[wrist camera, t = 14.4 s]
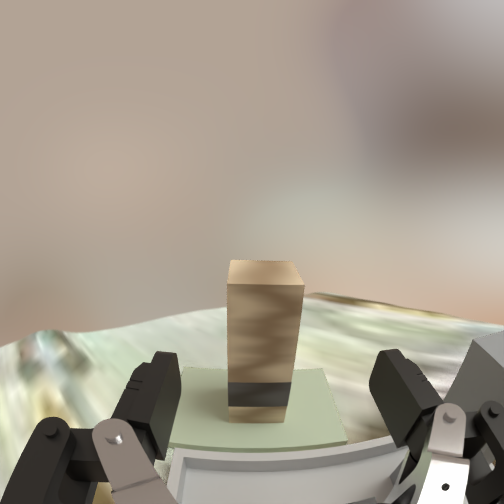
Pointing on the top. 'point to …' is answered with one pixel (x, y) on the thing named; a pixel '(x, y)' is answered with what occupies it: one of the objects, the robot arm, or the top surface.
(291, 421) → the pad
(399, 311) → the top surface
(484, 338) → the slate box
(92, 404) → the top surface
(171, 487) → the parts tray
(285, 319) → the banded wooden block
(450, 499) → the robot arm
